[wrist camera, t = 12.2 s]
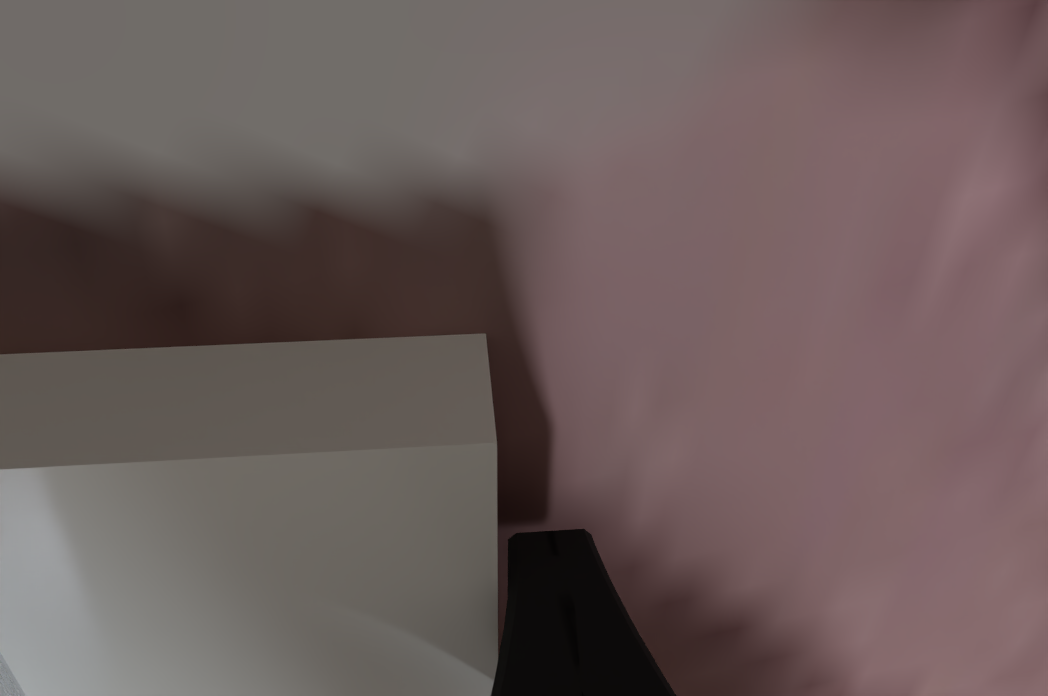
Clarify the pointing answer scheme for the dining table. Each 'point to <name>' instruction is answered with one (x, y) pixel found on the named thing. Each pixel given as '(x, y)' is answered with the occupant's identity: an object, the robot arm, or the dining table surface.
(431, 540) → the tile
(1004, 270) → the dining table surface
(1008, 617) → the dining table surface
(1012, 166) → the dining table surface
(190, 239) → the dining table surface
